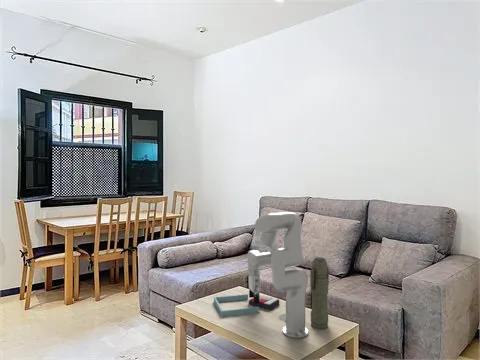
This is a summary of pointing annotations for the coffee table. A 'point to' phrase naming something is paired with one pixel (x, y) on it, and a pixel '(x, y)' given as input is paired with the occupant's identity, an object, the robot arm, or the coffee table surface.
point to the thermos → (319, 293)
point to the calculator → (265, 303)
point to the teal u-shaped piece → (234, 311)
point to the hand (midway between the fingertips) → (254, 300)
